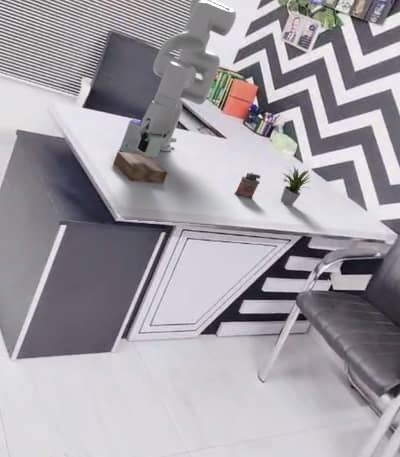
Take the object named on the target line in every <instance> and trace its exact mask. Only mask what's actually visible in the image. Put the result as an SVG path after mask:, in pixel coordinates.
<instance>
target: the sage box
mask: <svg viewBox="0 0 400 457" xmlns="http://www.w3.org/2000/svg"><path fill="white" fill-rule="evenodd" d="M148 134H149V133H146V135H148ZM140 140H141V137H140V139H139V141H138V144H137V147H136V150H138V151H139V152H141V153H142V154H143V155H145V156H146V157H152V158H157V157H158V155H159V153H160V151H161V150H160V148H161V146H162V143H163V141H164V138H163V137H162V136H160V135H159V134H152V135H151V137H150V138H149V140H148V142H149V143H148V146H147V148H146V151H145V152H142V151H141V150H139V149H138V145H139V143H140Z"/></svg>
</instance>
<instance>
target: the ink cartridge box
mask: <svg viewBox="0 0 400 457" xmlns="http://www.w3.org/2000/svg"><path fill="white" fill-rule="evenodd" d="M144 116H145V115H144ZM144 116H142V118H141V119H140V120H138V119H136V118H134V119H131V120H130V121H129V123H128V125H127V128H126V130H125V133H124V136H123V139H122V142H121V145H120V147H119V151H120V152H125V153H132V154H139V155H143V154H142V153H141V152H139V151H138V150H136V147H137V144H138V141H139V139H140V136H141V135H140V132H139V128H140V127H141V123H142V121H143V118H144ZM148 131H149V129H148Z"/></svg>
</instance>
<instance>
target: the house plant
mask: <svg viewBox="0 0 400 457" xmlns="http://www.w3.org/2000/svg"><path fill="white" fill-rule="evenodd" d="M285 167H286V168H288V166H286V165H285ZM293 168H294V170H293V171H294V172H293V171H292V170H290V171H289V172H290V174H286V173H283V172H282V174H283V175H284V177H286V178H282V182H284V183H285V182H287V183H288V185H285V186H284V188H283V192H282V194H281V197H280V200H281V201H280V202H281V203H282V202H283V203H284V204H283V203H282V204H283V205H285V206H287V205H288V206H287V207H292V206H293V205H294V203H295V202H296V201H297V199H298V198H299V197H300V196H301V191H302V188H304V186H303V185H305V184H307V183H309V182H310V180H309V179H310V178H311V177H312V176H310V174H308V173H309V170H303V172H302V173H300V174H299V169H298V168H296V167H295V166H293ZM307 174H308V175H307ZM287 178H288V180H287ZM308 180H309V181H308ZM306 188H308V189H310V187H308V186H306ZM310 190H311V189H310Z"/></svg>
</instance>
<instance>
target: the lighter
mask: <svg viewBox="0 0 400 457" xmlns="http://www.w3.org/2000/svg"><path fill="white" fill-rule="evenodd" d="M258 179H259V180H260V179H261V175H260V174H256V173H255V174H254V172H247V173H246V175H245V176H242V177H241V181H240V182H239V185H238V187H237V189H236V190H235V192H234V195H235V196H236V197H238V198H242V199H247V200H252V199H253V196H254V194H255V192H256V191H257V190H256V189H257V188H258V186H259V184H260V181H259V180H258Z"/></svg>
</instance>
